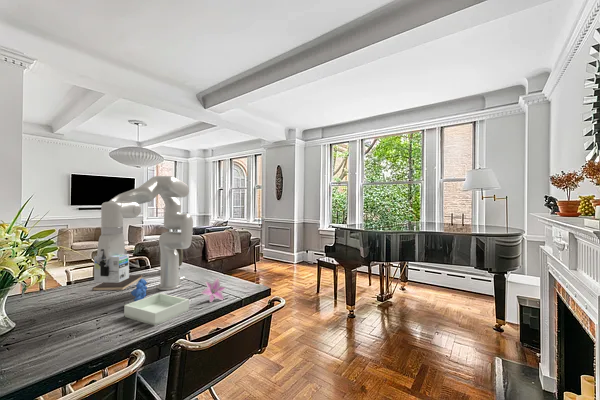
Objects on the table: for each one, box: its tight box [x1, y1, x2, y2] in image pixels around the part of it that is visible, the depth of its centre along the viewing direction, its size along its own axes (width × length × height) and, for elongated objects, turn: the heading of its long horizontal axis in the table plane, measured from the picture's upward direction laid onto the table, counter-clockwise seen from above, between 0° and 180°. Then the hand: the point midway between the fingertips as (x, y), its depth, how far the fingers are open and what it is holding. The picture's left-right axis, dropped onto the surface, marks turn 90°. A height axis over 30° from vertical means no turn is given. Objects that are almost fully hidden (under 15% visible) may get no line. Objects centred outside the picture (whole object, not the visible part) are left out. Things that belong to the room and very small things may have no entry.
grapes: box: [130, 278, 148, 302], centre depth 131 cm, size 12×7×12 cm, turn 14°
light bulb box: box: [93, 253, 130, 283], centre depth 115 cm, size 11×7×11 cm, turn 90°
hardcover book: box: [92, 274, 144, 291], centre depth 162 cm, size 16×23×2 cm
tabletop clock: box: [158, 249, 184, 271], centre depth 189 cm, size 14×9×25 cm, turn 123°
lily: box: [200, 277, 227, 303], centre depth 139 cm, size 12×12×10 cm
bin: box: [123, 292, 190, 327], centre depth 121 cm, size 17×19×5 cm
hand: (112, 273), depth 115 cm, fingers closed on light bulb box, 7 cm apart
